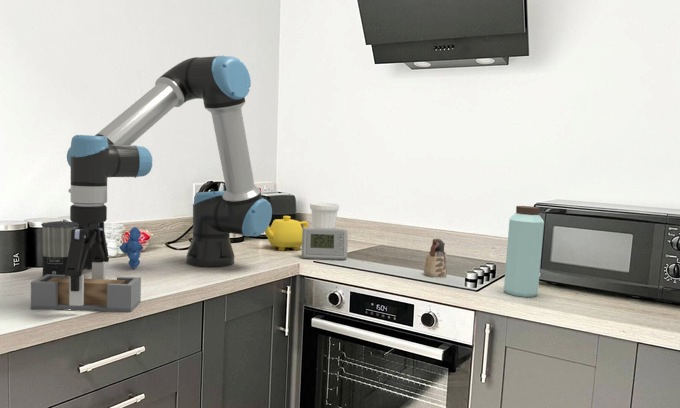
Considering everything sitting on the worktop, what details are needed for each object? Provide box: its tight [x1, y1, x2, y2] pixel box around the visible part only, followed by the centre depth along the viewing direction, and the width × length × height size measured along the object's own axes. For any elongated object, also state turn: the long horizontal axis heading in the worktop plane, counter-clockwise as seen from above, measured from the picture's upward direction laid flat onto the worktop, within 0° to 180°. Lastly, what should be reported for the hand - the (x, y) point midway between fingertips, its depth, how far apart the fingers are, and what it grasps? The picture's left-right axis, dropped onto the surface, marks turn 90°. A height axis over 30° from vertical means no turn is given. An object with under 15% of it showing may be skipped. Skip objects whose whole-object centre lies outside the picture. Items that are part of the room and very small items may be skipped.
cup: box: [309, 202, 340, 228], centre depth 238 cm, size 12×12×15 cm
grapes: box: [119, 226, 144, 269], centre depth 170 cm, size 12×7×12 cm, turn 19°
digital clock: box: [301, 227, 348, 261], centre depth 199 cm, size 16×9×11 cm, turn 84°
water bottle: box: [503, 205, 545, 298], centre depth 162 cm, size 10×10×25 cm
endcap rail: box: [30, 274, 142, 313], centre depth 129 cm, size 21×8×6 cm, turn 95°
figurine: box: [423, 238, 448, 278], centre depth 181 cm, size 7×7×12 cm
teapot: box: [264, 215, 309, 252], centre depth 214 cm, size 13×20×12 cm
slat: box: [46, 277, 125, 306], centre depth 129 cm, size 16×4×5 cm, turn 93°
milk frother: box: [40, 220, 96, 277], centre depth 157 cm, size 14×16×15 cm
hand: (87, 297), depth 129 cm, fingers open, 13 cm apart
